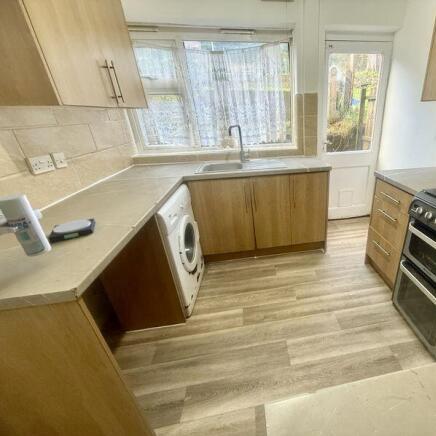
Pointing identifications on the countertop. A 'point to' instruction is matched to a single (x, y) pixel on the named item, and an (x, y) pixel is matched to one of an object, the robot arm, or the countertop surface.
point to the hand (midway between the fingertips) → (26, 224)
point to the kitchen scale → (72, 230)
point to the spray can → (25, 224)
